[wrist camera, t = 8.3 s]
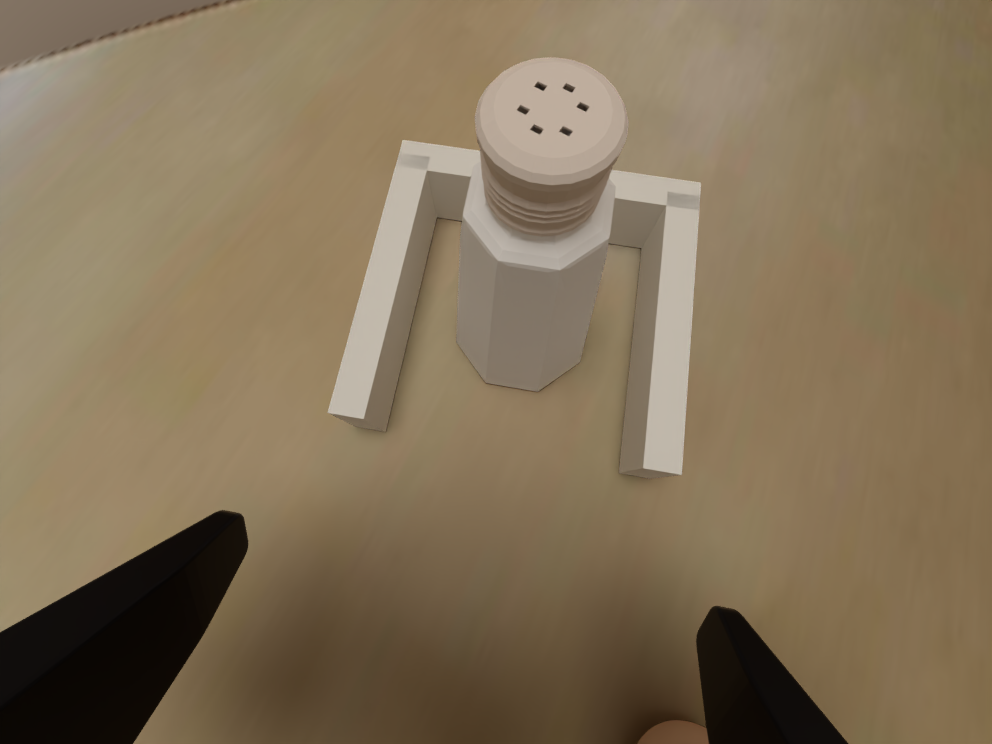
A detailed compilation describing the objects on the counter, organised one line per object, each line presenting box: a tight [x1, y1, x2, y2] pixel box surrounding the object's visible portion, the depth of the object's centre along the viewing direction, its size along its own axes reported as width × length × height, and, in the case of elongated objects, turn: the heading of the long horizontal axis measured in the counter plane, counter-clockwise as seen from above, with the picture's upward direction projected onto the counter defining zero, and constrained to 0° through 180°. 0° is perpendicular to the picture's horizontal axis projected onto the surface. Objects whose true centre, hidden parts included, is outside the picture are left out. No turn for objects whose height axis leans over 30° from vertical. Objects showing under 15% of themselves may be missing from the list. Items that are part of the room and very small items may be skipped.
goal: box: [328, 140, 701, 479], centre depth 17 cm, size 11×11×3 cm
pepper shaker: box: [456, 57, 629, 392], centre depth 13 cm, size 5×5×11 cm
